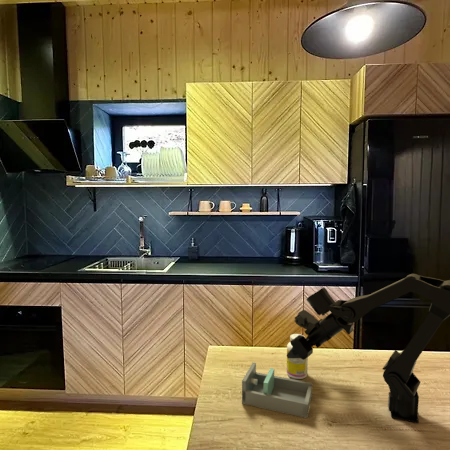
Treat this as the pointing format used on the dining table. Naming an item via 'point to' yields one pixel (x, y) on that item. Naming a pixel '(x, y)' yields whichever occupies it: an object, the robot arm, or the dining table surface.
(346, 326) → the robot arm
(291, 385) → the tray
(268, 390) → the pusher plate
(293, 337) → the supplement bottle
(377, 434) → the dining table surface
